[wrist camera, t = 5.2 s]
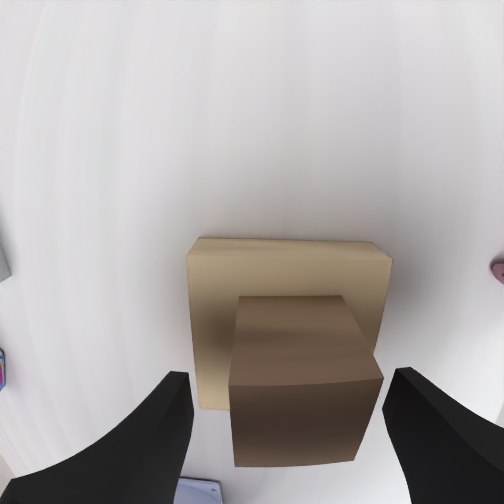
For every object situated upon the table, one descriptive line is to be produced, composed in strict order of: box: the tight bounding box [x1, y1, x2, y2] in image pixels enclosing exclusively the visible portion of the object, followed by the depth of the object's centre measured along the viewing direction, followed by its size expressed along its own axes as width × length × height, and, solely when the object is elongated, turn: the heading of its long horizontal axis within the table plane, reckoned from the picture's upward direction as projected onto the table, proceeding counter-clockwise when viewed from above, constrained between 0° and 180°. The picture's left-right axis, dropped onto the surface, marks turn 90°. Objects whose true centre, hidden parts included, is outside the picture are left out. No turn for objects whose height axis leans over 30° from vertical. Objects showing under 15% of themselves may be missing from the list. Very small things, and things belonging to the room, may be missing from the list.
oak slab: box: [187, 238, 393, 411], centre depth 14 cm, size 8×8×3 cm
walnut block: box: [228, 295, 384, 467], centre depth 10 cm, size 4×4×5 cm
